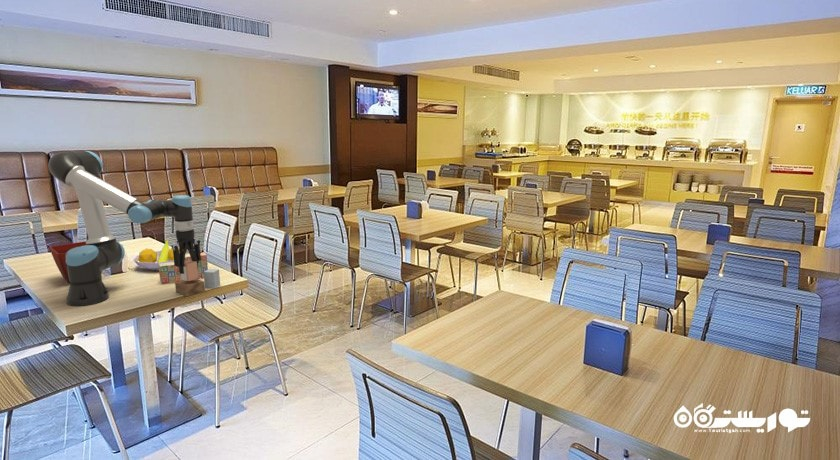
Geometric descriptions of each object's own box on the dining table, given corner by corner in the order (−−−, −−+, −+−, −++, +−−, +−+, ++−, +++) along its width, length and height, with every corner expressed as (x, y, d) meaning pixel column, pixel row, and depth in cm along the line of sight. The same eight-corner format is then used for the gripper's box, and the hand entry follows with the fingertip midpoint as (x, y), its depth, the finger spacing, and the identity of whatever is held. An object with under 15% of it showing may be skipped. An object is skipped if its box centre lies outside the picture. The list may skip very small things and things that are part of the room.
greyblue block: (214, 288, 224) (213, 272, 222) (204, 287, 225) (203, 271, 223) (220, 285, 229) (218, 269, 227) (210, 284, 229) (209, 268, 228)
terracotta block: (188, 281, 215) (187, 264, 213) (181, 279, 217) (179, 263, 215) (198, 278, 219) (196, 261, 217) (190, 276, 221) (189, 260, 219)
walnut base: (186, 296, 213) (185, 286, 212) (176, 292, 218) (175, 282, 217) (205, 291, 220) (204, 281, 219) (194, 287, 225) (193, 277, 224)
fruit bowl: (174, 274, 245) (172, 253, 242) (123, 273, 245) (120, 252, 243) (200, 259, 272) (198, 240, 269) (154, 258, 272) (152, 239, 270)
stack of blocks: (161, 284, 228) (159, 260, 226) (160, 281, 233) (157, 257, 231) (208, 277, 240) (206, 254, 238) (206, 274, 245) (204, 251, 243)
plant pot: (62, 287, 221) (57, 253, 218) (54, 278, 234) (48, 246, 230) (109, 279, 235) (105, 246, 232) (98, 270, 248) (94, 240, 244)
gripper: (172, 234, 203) (178, 285, 208) (207, 226, 219) (211, 274, 224) (161, 232, 206) (166, 282, 211) (195, 225, 222) (200, 272, 227)
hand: (189, 278), depth 218 cm, fingers closed on terracotta block, 5 cm apart
